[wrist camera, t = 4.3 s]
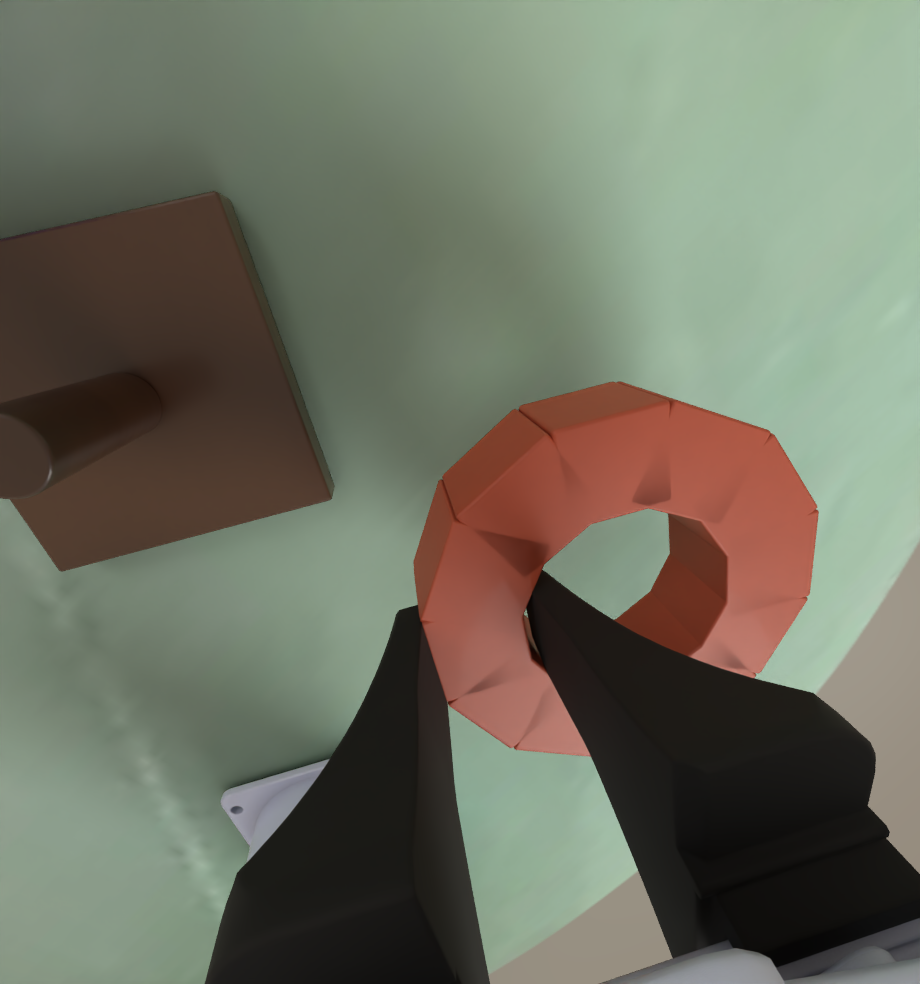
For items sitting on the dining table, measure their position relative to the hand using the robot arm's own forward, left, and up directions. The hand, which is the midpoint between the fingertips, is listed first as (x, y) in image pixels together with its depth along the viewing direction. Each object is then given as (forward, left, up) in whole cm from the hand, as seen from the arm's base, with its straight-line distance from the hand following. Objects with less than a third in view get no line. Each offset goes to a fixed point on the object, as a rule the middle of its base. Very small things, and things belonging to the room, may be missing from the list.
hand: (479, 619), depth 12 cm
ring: (0, -4, -1) cm, 4 cm away
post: (+7, +8, -6) cm, 12 cm away
